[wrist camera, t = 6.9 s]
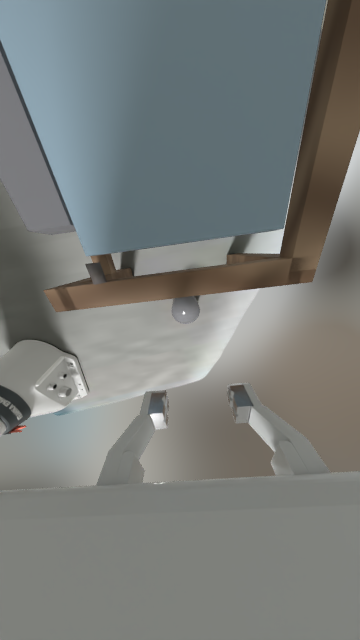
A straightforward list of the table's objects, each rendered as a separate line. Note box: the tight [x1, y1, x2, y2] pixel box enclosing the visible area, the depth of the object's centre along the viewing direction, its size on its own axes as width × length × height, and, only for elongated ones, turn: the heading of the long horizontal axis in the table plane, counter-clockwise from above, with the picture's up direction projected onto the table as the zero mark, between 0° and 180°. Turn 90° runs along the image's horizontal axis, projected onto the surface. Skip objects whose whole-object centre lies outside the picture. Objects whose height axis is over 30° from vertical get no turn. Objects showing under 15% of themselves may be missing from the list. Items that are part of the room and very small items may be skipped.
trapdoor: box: [0, 0, 326, 256], centre depth 7 cm, size 14×18×2 cm
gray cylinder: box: [172, 296, 200, 324], centre depth 26 cm, size 5×5×5 cm
